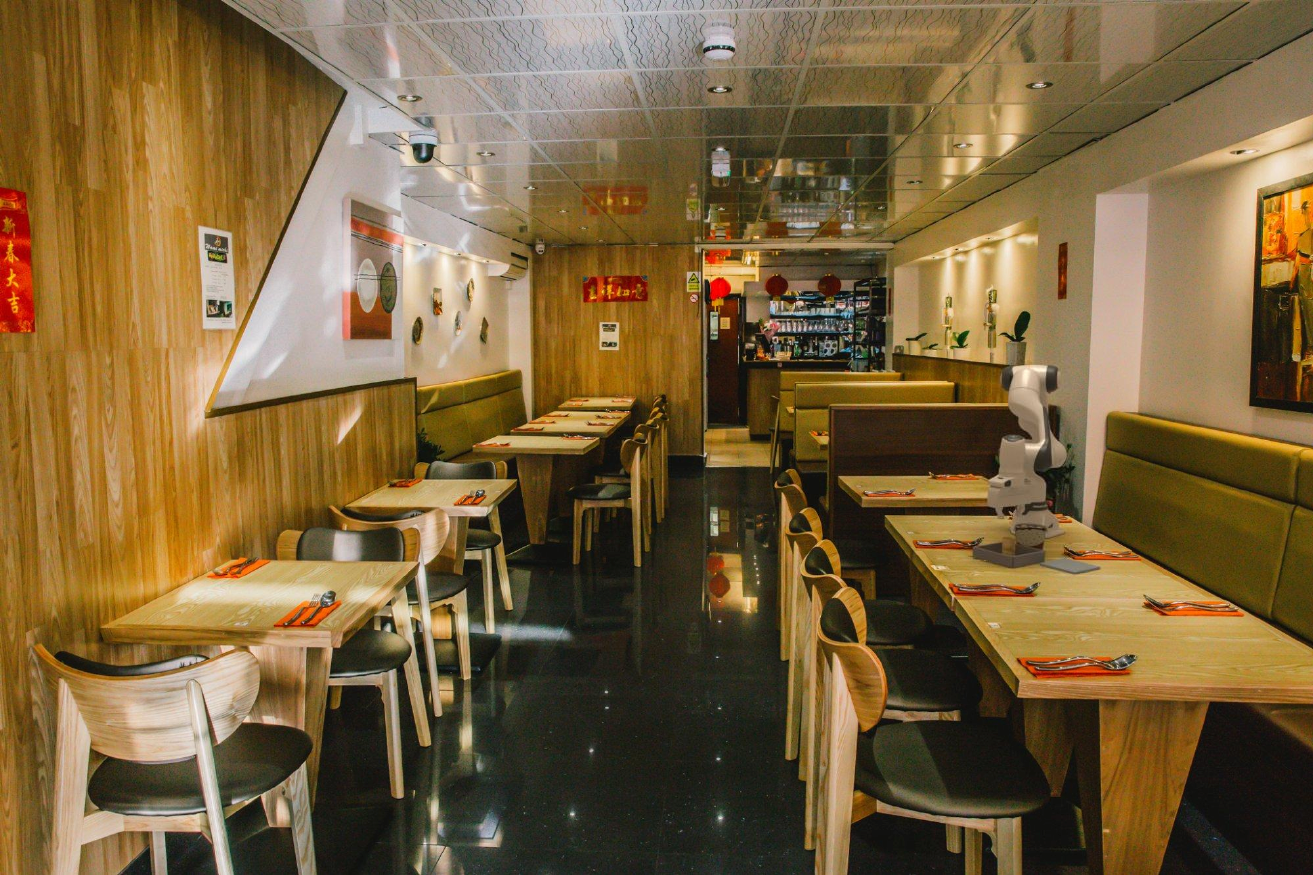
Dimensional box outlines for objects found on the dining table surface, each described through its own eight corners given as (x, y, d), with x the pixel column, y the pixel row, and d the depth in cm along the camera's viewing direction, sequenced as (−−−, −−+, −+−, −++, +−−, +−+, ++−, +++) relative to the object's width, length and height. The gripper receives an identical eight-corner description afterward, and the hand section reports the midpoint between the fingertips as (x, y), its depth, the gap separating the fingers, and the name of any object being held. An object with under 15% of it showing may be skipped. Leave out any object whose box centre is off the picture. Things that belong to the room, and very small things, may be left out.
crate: (1004, 551, 336) (1005, 541, 335) (1045, 561, 320) (1046, 551, 320) (971, 557, 327) (971, 546, 327) (1011, 568, 312) (1012, 557, 311)
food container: (1041, 548, 340) (1042, 523, 339) (1046, 552, 334) (1047, 526, 333) (1008, 547, 341) (1009, 522, 340) (1012, 551, 335) (1014, 525, 334)
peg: (1007, 557, 327) (1008, 536, 326) (1017, 560, 323) (1018, 538, 322) (999, 559, 325) (999, 537, 324) (1009, 561, 321) (1009, 540, 320)
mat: (1065, 560, 322) (1065, 558, 322) (1100, 569, 310) (1100, 566, 310) (1039, 565, 316) (1039, 563, 316) (1074, 574, 304) (1074, 572, 303)
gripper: (1023, 476, 328) (1021, 513, 329) (985, 480, 318) (983, 518, 320) (1038, 479, 323) (1036, 516, 324) (999, 483, 313) (997, 521, 314)
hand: (1009, 517), depth 322 cm, fingers open, 8 cm apart
